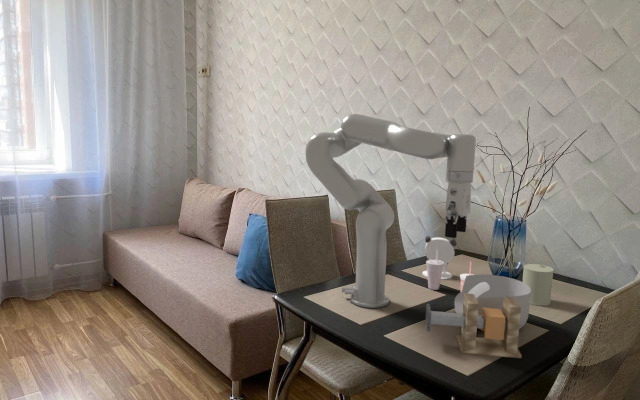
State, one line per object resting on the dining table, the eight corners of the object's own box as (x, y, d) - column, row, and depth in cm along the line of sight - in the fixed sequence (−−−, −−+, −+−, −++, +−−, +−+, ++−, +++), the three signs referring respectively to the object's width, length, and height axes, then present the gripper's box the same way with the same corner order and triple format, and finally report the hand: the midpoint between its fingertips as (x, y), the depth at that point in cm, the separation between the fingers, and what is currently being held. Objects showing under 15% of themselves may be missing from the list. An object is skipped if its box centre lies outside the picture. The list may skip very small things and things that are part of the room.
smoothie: (444, 291, 157) (447, 252, 154) (426, 290, 157) (428, 252, 155) (440, 285, 163) (442, 248, 161) (422, 284, 163) (424, 247, 161)
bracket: (460, 352, 112) (464, 303, 111) (456, 338, 120) (459, 292, 118) (521, 358, 110) (526, 308, 108) (512, 343, 118) (517, 296, 116)
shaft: (427, 330, 114) (428, 312, 113) (425, 321, 120) (426, 303, 119) (518, 339, 111) (520, 320, 110) (512, 328, 116) (514, 310, 116)
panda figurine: (452, 272, 179) (455, 235, 177) (454, 281, 168) (457, 242, 166) (422, 269, 182) (424, 233, 179) (422, 278, 171) (424, 240, 169)
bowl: (536, 341, 120) (540, 299, 118) (462, 334, 123) (465, 293, 121) (516, 312, 140) (519, 276, 138) (453, 307, 143) (455, 271, 141)
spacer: (484, 338, 112) (486, 316, 111) (480, 328, 118) (482, 307, 117) (503, 340, 111) (505, 317, 111) (498, 330, 117) (500, 309, 116)
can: (554, 300, 150) (557, 266, 148) (545, 308, 143) (549, 272, 141) (525, 293, 156) (528, 260, 154) (516, 300, 149) (519, 266, 148)
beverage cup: (460, 297, 151) (463, 257, 149) (479, 301, 148) (482, 260, 146) (456, 303, 145) (459, 262, 143) (475, 307, 142) (478, 265, 140)
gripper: (464, 180, 120) (460, 241, 123) (479, 175, 134) (475, 231, 137) (437, 178, 124) (433, 237, 127) (455, 174, 139) (451, 227, 141)
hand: (455, 234), depth 132 cm, fingers open, 9 cm apart
